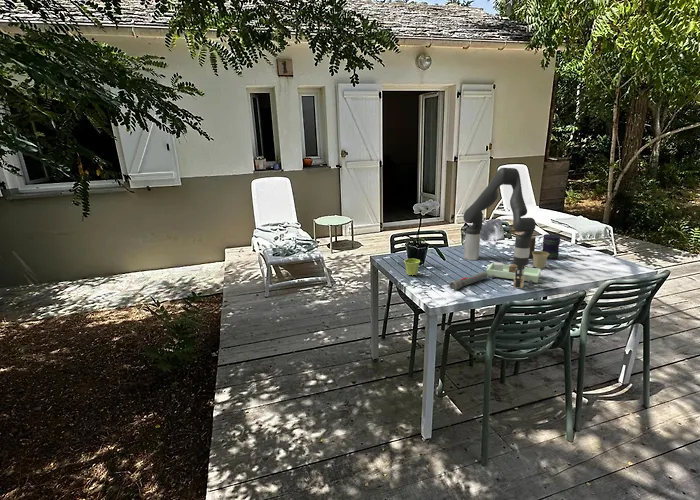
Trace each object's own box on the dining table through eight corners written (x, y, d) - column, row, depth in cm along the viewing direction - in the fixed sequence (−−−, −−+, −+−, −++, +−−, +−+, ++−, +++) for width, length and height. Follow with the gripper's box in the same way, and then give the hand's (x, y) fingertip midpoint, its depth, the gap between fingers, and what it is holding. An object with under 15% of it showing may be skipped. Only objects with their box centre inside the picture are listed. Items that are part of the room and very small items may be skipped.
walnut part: (508, 274, 220) (509, 266, 218) (510, 272, 223) (510, 264, 222) (517, 275, 217) (517, 267, 216) (518, 273, 221) (519, 265, 220)
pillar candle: (536, 258, 252) (538, 236, 249) (521, 258, 253) (523, 236, 249) (530, 254, 262) (532, 233, 258) (515, 254, 262) (517, 233, 258)
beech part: (513, 287, 206) (514, 278, 205) (514, 284, 210) (515, 275, 209) (522, 288, 204) (523, 279, 203) (523, 285, 208) (524, 276, 206)
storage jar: (544, 254, 259) (546, 233, 255) (560, 257, 253) (562, 235, 249) (538, 258, 253) (541, 236, 249) (554, 261, 246) (557, 238, 242)
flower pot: (549, 269, 231) (551, 255, 229) (532, 268, 233) (534, 255, 231) (545, 264, 240) (546, 251, 238) (529, 264, 242) (530, 250, 240)
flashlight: (489, 280, 218) (489, 271, 217) (456, 291, 203) (456, 282, 201) (481, 277, 222) (482, 269, 221) (448, 289, 207) (449, 280, 205)
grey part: (494, 272, 223) (494, 264, 222) (494, 270, 227) (495, 262, 226) (502, 273, 222) (503, 265, 220) (502, 270, 226) (503, 262, 224)
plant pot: (410, 278, 223) (410, 264, 221) (400, 273, 232) (400, 260, 229) (423, 275, 228) (423, 261, 225) (413, 271, 236) (413, 257, 233)
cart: (485, 277, 221) (485, 270, 220) (491, 269, 234) (492, 262, 233) (537, 285, 207) (537, 277, 206) (540, 275, 221) (541, 268, 220)
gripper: (515, 251, 210) (513, 279, 214) (511, 258, 198) (508, 288, 203) (531, 252, 206) (528, 281, 211) (527, 259, 194) (524, 290, 199)
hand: (518, 284), depth 207 cm, fingers open, 6 cm apart
